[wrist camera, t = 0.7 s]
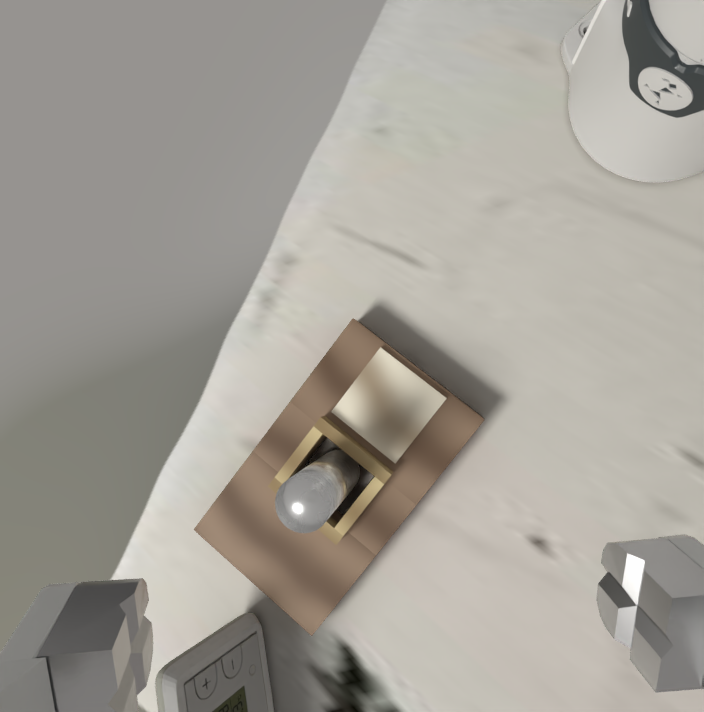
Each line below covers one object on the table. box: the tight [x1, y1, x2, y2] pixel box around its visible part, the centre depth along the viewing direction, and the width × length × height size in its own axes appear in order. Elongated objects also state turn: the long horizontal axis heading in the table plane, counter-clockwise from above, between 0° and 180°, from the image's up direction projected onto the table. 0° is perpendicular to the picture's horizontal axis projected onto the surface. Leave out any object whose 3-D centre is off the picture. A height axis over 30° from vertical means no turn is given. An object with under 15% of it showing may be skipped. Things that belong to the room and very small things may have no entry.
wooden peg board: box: [194, 319, 484, 636], centre depth 47 cm, size 24×14×4 cm, turn 142°
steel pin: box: [275, 450, 360, 533], centre depth 44 cm, size 4×4×12 cm
